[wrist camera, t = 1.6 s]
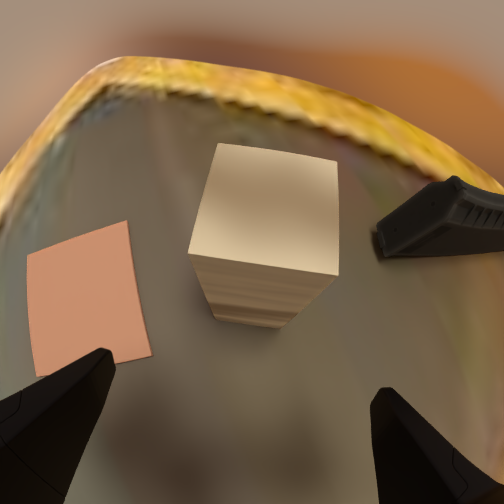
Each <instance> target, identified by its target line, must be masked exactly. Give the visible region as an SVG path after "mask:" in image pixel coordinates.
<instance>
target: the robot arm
mask: <svg viewBox="0 0 504 504" xmlns="http://www.w3.org/2000/svg"><path fill="white" fill-rule="evenodd" d="M115 371H116V366H115V362H114V358H113V354H112V351H111V350H109V349H106V348H103V347H100V348H97V349H95V350H94V351H92V352H90V353H88V354H86V355H85V356H83V357H81V358H79V359H77V360H76V361H74V362H72V363H70V364H68V365H66V366H65V367H63V368H61V369H59V370H57V371H55V372H54V373H52V374H50V375H48V376H46V377H45V378H43V379H41V380H39V381H37V382H35V383H33V384H32V385H30V386H28V387H26V388H24V389H23V390H20V391H19V392H17V393H15V394H13V395H11V396H9V397H7V398H5V399H3V400H1V401H0V504H63V503H64V501H65V497H66V495H67V492H68V489H69V487H70V484H71V482H72V479H73V477H74V474H75V472H76V469H77V467H78V464H79V462H80V459H81V457H82V455H83V452H84V450H85V448H86V445H87V443H88V441H89V438H90V436H91V434H92V432H93V429H94V427H95V425H96V423H97V421H98V418H99V416H100V414H101V412H102V409H103V407H104V404H105V401H106V398H107V395H108V392H109V389H110V386H111V383H112V380H113V378H114V375H115ZM370 417H371V438H372V449H373V456H374V463H375V471H376V479H377V488H378V497H379V504H504V485H503V484H500V483H498V482H496V481H495V480H493V479H492V478H491V477H489V476H488V475H487V474H485V473H484V472H483V471H481V470H480V469H479V468H477V467H476V466H475V465H474V464H472V463H471V462H470V461H469V460H468V459H466V458H465V457H464V456H463V455H462V454H461V453H460V452H459V451H458V450H457V449H456V448H455V447H453V446H452V445H451V444H450V443H449V442H448V441H447V440H446V439H445V438H444V437H443V436H442V435H441V434H440V433H439V432H438V431H437V430H436V429H435V428H434V427H433V426H432V425H431V424H430V423H428V422H427V421H426V420H425V419H424V418H423V417H422V416H421V415H420V414H419V413H418V412H417V411H416V410H415V409H414V408H413V407H412V406H411V405H410V404H409V403H408V402H407V401H406V400H405V399H403V398H402V397H401V396H400V395H399V394H398V393H397V392H396V391H395V390H394V389H393V388H391V387H383V388H381V389H379V391H378V392H377V394H376V395H375V397H374V399H373V400H372V402H371V404H370Z"/></svg>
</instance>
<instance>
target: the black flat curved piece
mask: <svg viewBox="0 0 504 504" xmlns="http://www.w3.org/2000/svg"><path fill="white" fill-rule="evenodd" d="M376 227H377V230H378V232H377V237H378V241H379V245H380V249H382V250H383V254H384V256H386V257H390V256H392V255H437V256H440V255H466V254H478V253H488V252H495V251H501V250H504V195H501V194H497V193H492V192H488V191H485V190H482V189H479V188H477V187H474V186H472V185H470V184H468V183H466V182H464V181H463V180H461V179H460V178H459V177H458V176H453V175H452V176H451V177H450V178H449V179H447V180H446V181H442V182H432V183H430V184H428V185H427V186H425V187H424V188H423V189H422V190H420V191H419V192H418V193H416V194H415V195H414V196H413V197H411V198H410V199H409V200H407V201H406V202H405V203H403V204H402V205H401V206H399V207H398V208H397V209H395V210H394V211H393V212H391V213H390V214H389V215H387V216H386V217H385V218H383V219H382V220H381V221H379V222H378V223H377V225H376Z"/></svg>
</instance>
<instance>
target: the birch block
mask: <svg viewBox="0 0 504 504" xmlns="http://www.w3.org/2000/svg"><path fill="white" fill-rule="evenodd" d="M188 255H189V258H190V260H191V263H192V265H193V267H194V270H195V272H196V275H197V277H198V280H199V282H200V284H201V287H202V289H203V292H204V294H205V296H206V299H207V301H208V303H209V306H210V308H211V310H212V313H213V315H214V317H215V319H216V320H222V321H229V322H235V323H241V324H248V325H255V326H262V327H270V328H277V329H281V328H282V327H283V326H284V325H286V324H287V323H288V322H289V321H290V320H291V319H292V318H293V317H295V316H296V315H297V314H298V313H299V312H300V311H301V310H302V309H303V308H304V307H306V306H307V305H308V304H309V303H310V302H311V301H312V300H313V299H314V298H315V297H316V296H317V295H318V294H320V293H321V292H322V291H323V290H324V289H325V288H326V287H327V286H328V285H329V284H330V283H331V282H332V281H333V280H334V279H335V278H336V277H337V276H338V268H339V200H338V173H337V162H335V161H330V160H325V159H321V158H315V157H310V156H305V155H299V154H294V153H288V152H282V151H275V150H269V149H262V148H255V147H247V146H239V145H230V144H221V143H218V145H217V149H216V152H215V155H214V159H213V162H212V165H211V169H210V172H209V175H208V179H207V182H206V186H205V189H204V193H203V196H202V200H201V204H200V207H199V211H198V215H197V219H196V223H195V226H194V230H193V234H192V238H191V242H190V246H189V250H188Z"/></svg>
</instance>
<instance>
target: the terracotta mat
mask: <svg viewBox="0 0 504 504" xmlns="http://www.w3.org/2000/svg"><path fill="white" fill-rule="evenodd" d="M27 299H28V316H29V327H30V337H31V345H32V352H33V358H34V364H35V370H36V375H37V377H41V376H48V375H50V374H52V373H54V372H55V371H57V370H59V369H61V368H63V367H65V366H66V365H68V364H70V363H72V362H74V361H76V360H77V359H79V358H81V357H83V356H85V355H86V354H88V353H90V352H92V351H94V350H95V349H97V348H100V347H103V348H106V349H109V350H111V351H112V354H113V358H114V362H115V364H118V363H123V362H127V361H132V360H137V359H141V358H146V357H150V356H153V353H152V349H151V345H150V341H149V337H148V333H147V329H146V325H145V320H144V316H143V311H142V306H141V301H140V296H139V291H138V286H137V280H136V274H135V268H134V262H133V255H132V249H131V241H130V234H129V225H128V221H127V220H126V221H123V222H120V223H117V224H114V225H111V226H107V227H104V228H101V229H98V230H95V231H92V232H90V233H87V234H84V235H81V236H78V237H75V238H72V239H70V240H67V241H64V242H61V243H59V244H56V245H53V246H51V247H48V248H45V249H43V250H40V251H37V252H35V253H32V254H30V255H27Z"/></svg>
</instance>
